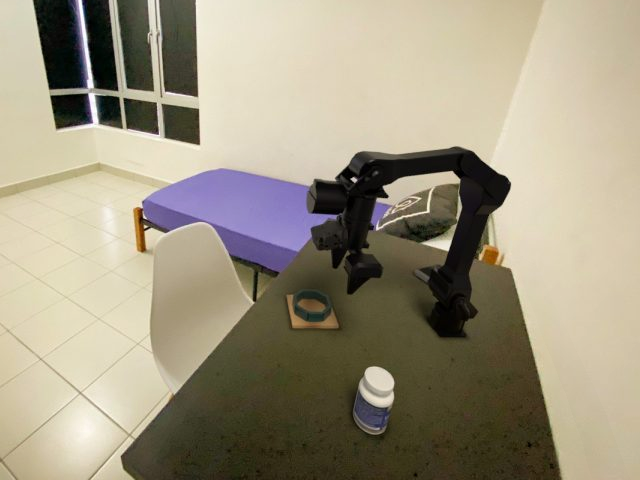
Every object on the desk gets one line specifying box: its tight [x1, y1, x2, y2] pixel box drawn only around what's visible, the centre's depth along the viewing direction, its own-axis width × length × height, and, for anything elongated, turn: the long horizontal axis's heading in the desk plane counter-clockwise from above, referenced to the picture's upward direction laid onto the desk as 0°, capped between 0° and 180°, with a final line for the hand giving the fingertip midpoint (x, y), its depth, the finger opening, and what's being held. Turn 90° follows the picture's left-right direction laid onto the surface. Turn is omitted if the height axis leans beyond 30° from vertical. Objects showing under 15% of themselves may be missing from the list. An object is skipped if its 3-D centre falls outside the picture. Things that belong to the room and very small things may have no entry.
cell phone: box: [414, 264, 443, 284], centre depth 100 cm, size 6×11×1 cm, turn 113°
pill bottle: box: [352, 366, 395, 436], centre depth 57 cm, size 6×6×10 cm
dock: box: [285, 288, 340, 329], centre depth 83 cm, size 11×11×4 cm
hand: (341, 280), depth 72 cm, fingers open, 9 cm apart
